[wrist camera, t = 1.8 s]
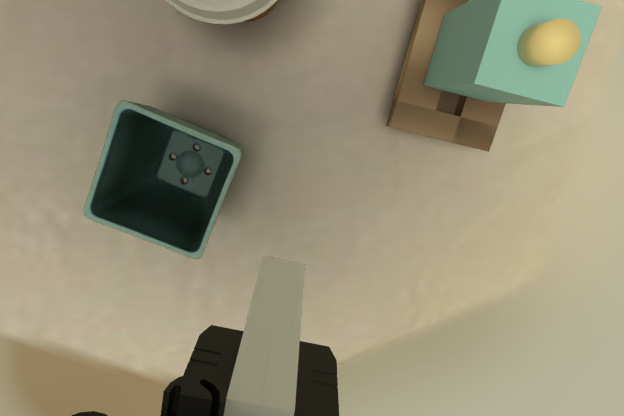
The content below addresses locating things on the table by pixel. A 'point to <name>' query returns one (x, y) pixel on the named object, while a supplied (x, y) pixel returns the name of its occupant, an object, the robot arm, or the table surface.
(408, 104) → the brown flat slatted piece
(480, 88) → the block
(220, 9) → the disposable coffee cup
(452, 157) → the table surface
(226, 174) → the flower pot
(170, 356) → the table surface
